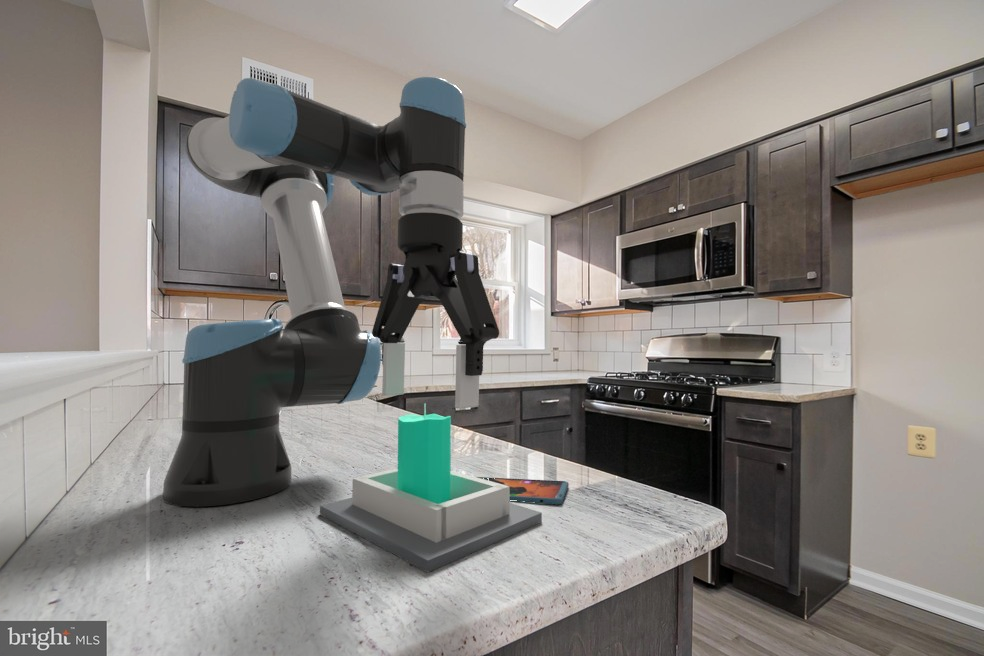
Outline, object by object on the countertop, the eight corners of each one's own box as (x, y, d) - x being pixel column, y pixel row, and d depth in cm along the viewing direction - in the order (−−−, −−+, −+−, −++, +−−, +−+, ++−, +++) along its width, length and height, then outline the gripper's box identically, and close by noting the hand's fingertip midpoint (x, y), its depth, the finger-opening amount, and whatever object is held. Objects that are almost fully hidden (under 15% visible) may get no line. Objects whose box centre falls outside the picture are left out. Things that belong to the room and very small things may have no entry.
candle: (455, 516, 49) (456, 405, 50) (399, 522, 48) (400, 407, 48) (445, 499, 55) (446, 399, 56) (395, 503, 54) (396, 401, 54)
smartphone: (467, 476, 68) (568, 480, 64) (467, 485, 68) (569, 490, 64) (447, 490, 60) (561, 497, 56) (447, 500, 60) (561, 508, 56)
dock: (320, 514, 53) (320, 479, 53) (428, 484, 64) (429, 456, 65) (427, 572, 39) (428, 524, 39) (541, 521, 51) (541, 485, 51)
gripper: (347, 229, 59) (343, 392, 59) (484, 186, 42) (479, 417, 41) (396, 239, 65) (392, 389, 64) (534, 205, 48) (531, 409, 47)
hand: (426, 400), depth 53 cm, fingers open, 13 cm apart
